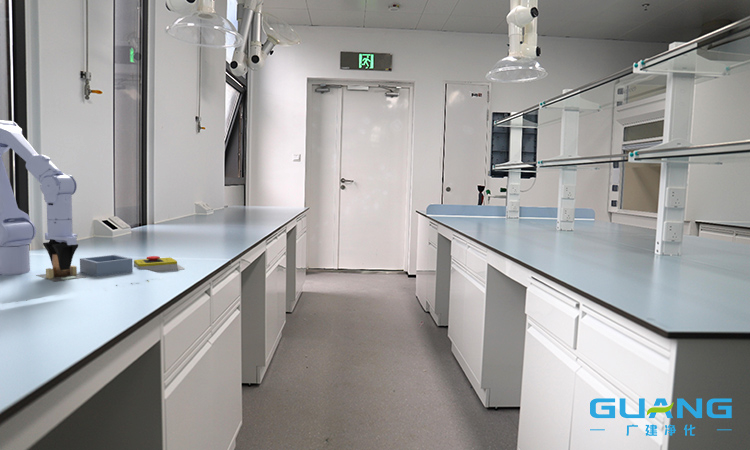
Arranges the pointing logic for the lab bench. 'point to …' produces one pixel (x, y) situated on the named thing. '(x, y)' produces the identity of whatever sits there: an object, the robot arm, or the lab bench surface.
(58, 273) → the copper cell
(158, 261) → the emergency button
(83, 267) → the grey open box
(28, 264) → the robot arm
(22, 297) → the lab bench surface
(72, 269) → the checker cradle
